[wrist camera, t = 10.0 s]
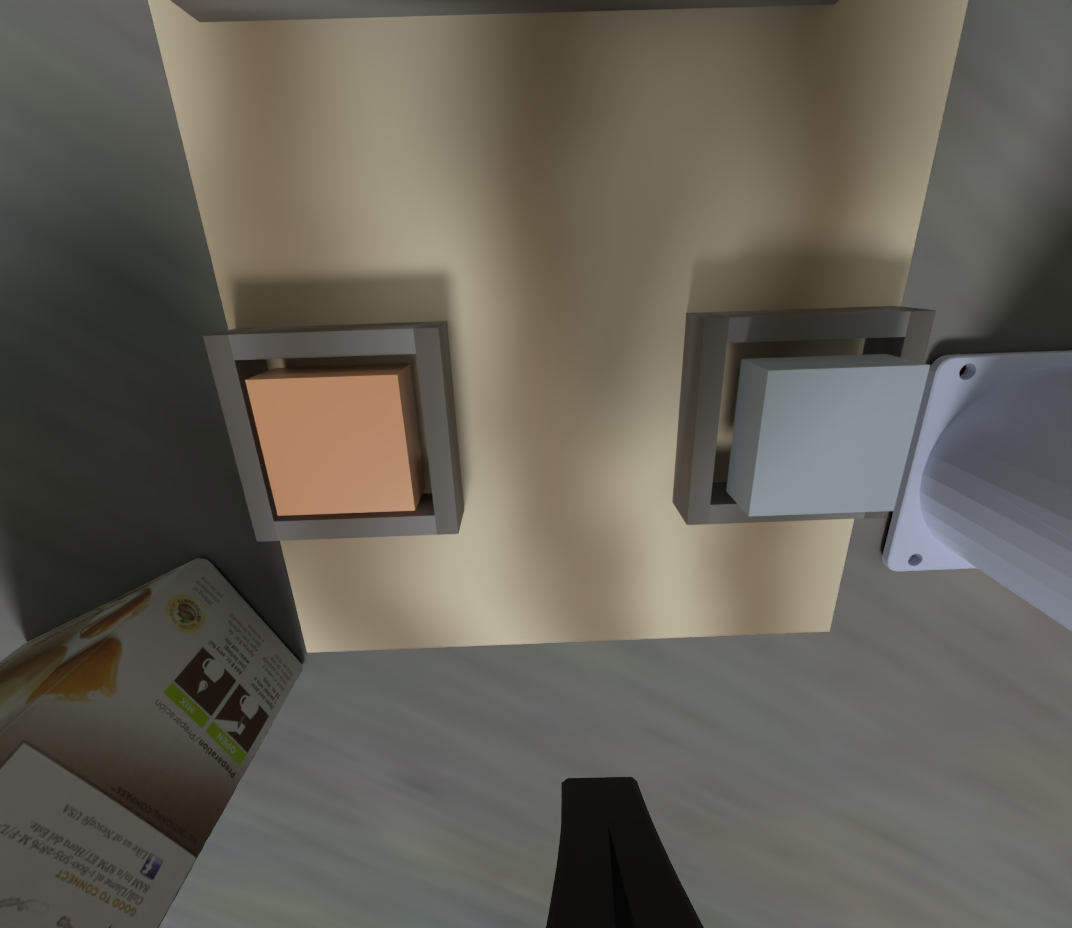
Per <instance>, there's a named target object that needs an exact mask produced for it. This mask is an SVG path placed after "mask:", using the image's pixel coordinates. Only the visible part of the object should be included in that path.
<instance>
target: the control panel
mask: <svg viewBox="0 0 1072 928" xmlns="http://www.w3.org/2000/svg"><path fill="white" fill-rule="evenodd" d="M148 2H149V6H150V10H151V14H152V18H153V23H154V27H155V31H156V35H157V39H158V43H159V47H160V51H161V55H162V59H163V64H164V68H165V72H166V76H167V80H168V84H169V88H170V92H171V96H172V100H173V105H174V109H175V113H176V117H177V121H178V125H179V129H180V133H181V137H182V141H183V146H184V150H185V154H186V158H187V162H188V166H189V170H190V174H191V178H192V182H193V187H194V191H195V195H196V199H197V203H198V207H199V211H200V215H201V219H202V224H203V228H204V232H205V236H206V240H207V244H208V248H209V252H210V256H211V260H212V265H213V269H214V273H215V277H216V281H217V285H218V289H219V293H220V297H221V301H222V306H223V310H224V314H225V318H226V322H227V326H228V330H226V331H222V332H217V333H213V334H208V335H204V336H203V339H204V343H205V346H206V350H207V354H208V358H209V362H210V365H211V369H212V373H213V377H214V381H215V384H216V388H217V392H218V396H219V400H220V403H221V407H222V411H223V415H224V419H225V422H226V426H227V430H228V434H229V438H230V441H231V445H232V449H233V453H234V457H235V461H236V464H237V468H238V472H239V476H240V480H241V483H242V487H243V491H244V495H245V499H246V502H247V506H248V510H249V514H250V518H251V521H252V525H253V529H254V533H255V537H256V540H257V542H261V541H280V543H281V548H282V552H283V556H284V560H285V564H286V568H287V572H288V576H289V580H290V584H291V589H292V593H293V597H294V601H295V605H296V609H297V613H298V617H299V621H300V625H301V630H302V634H303V638H304V642H305V646H306V650H307V653H312V652H336V651H361V650H385V649H410V648H434V647H459V646H484V645H508V644H533V643H557V642H582V641H606V640H631V639H655V638H680V637H704V636H729V635H753V634H778V633H803V632H827V631H830V627H831V622H832V618H833V613H834V609H835V604H836V599H837V595H838V590H839V586H840V581H841V577H842V572H843V568H844V563H845V559H846V554H847V549H848V545H849V540H850V536H851V531H852V527H853V522H854V519H859V518H885V516H886V512H887V511H879V512H853V513H827V514H801V515H775V516H748V515H747V514H746V513H745V512H744V511H743V510H742V509H741V507H740V506H739V505H738V504H737V503H736V502H735V501H734V500H733V498H732V497H731V496H730V495H729V494H728V493H727V492H726V488H727V479H728V471H729V462H730V453H731V445H732V436H733V427H734V419H735V410H736V401H737V393H738V384H739V375H740V366H741V359H753V358H781V357H810V356H838V355H867V354H888V355H892V356H896V357H900V358H904V359H908V360H912V361H916V362H920V363H923V360H924V356H925V352H926V348H927V344H928V340H929V336H930V332H931V328H932V324H933V319H934V315H935V310H926V309H917V308H908V307H901V304H902V300H903V295H904V290H905V286H906V281H907V277H908V272H909V268H910V263H911V259H912V254H913V250H914V245H915V240H916V236H917V231H918V227H919V222H920V218H921V213H922V209H923V204H924V200H925V195H926V190H927V186H928V181H929V177H930V172H931V168H932V163H933V159H934V154H935V150H936V145H937V141H938V136H939V131H940V127H941V122H942V118H943V113H944V109H945V104H946V100H947V95H948V91H949V86H950V81H951V77H952V72H953V68H954V63H955V59H956V54H957V50H958V45H959V41H960V36H961V31H962V27H963V22H964V18H965V13H966V9H967V4H968V0H148ZM403 363H410V364H411V373H412V381H413V389H414V398H415V406H416V414H417V423H418V431H419V439H420V448H421V456H422V464H423V473H424V481H425V489H424V491H423V494H422V496H421V498H420V501H419V503H418V505H417V507H416V510H415V511H390V512H364V513H338V514H311V515H285V516H278V515H277V510H276V506H275V502H274V498H273V494H272V490H271V485H270V481H269V477H268V473H267V469H266V465H265V461H264V456H263V452H262V448H261V444H260V440H259V436H258V431H257V427H256V423H255V419H254V415H253V411H252V406H251V402H250V398H249V394H248V390H247V386H246V382H245V380H246V379H249V378H251V377H254V376H256V375H258V374H261V373H263V372H266V371H268V370H270V369H273V368H288V367H317V366H345V365H374V364H403Z"/></svg>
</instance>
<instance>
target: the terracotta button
mask: <svg viewBox="0 0 1072 928" xmlns="http://www.w3.org/2000/svg"><path fill="white" fill-rule="evenodd" d="M245 382H246V386H247V390H248V394H249V398H250V402H251V406H252V411H253V415H254V419H255V423H256V427H257V431H258V436H259V440H260V444H261V448H262V452H263V456H264V461H265V465H266V469H267V473H268V477H269V481H270V485H271V490H272V494H273V498H274V502H275V506H276V510H277V515H278V516H285V515H311V514H338V513H364V512H390V511H415V510H416V507H417V505H418V503H419V501H420V498H421V496H422V494H423V491H424V489H425V481H424V473H423V464H422V456H421V448H420V439H419V431H418V423H417V414H416V406H415V398H414V389H413V381H412V373H411V364H410V363H403V364H374V365H345V366H317V367H288V368H273V369H270V370H268V371H266V372H263V373H261V374H258V375H256V376H254V377H251V378H249V379H246V380H245Z"/></svg>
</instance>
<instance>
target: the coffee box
mask: <svg viewBox="0 0 1072 928" xmlns="http://www.w3.org/2000/svg"><path fill="white" fill-rule="evenodd" d="M302 667H303V666H302V665H301V663H300V662H299V661H298V660H297V658H296V657H295V656H294V655H293V654H292V653H291V652H290V651H289V650H288V648H287V647H286V646H285V645H284V644H283V643H282V642H281V640H280V639H279V638H278V637H277V636H276V635H275V634H274V633H273V631H272V630H271V629H270V628H269V627H268V626H267V625H266V624H265V623H264V621H263V620H262V619H261V618H260V617H259V616H258V615H257V614H256V613H255V611H254V610H253V609H252V608H251V607H250V606H249V605H248V604H247V603H246V601H245V600H244V599H243V598H242V597H241V596H240V595H239V594H238V592H237V591H236V590H235V589H234V588H233V587H232V586H231V585H230V583H229V582H228V581H227V580H226V579H225V578H224V577H223V576H222V574H221V573H220V572H219V571H218V570H217V569H216V568H215V566H214V565H213V564H212V563H211V562H209V561H208V560H206V559H203V558H196V559H194V560H192V561H190V562H188V563H186V564H184V565H182V566H180V567H178V568H176V569H174V570H172V571H170V572H168V573H166V574H164V575H162V576H160V577H158V578H156V579H154V580H152V581H150V582H148V583H146V584H144V585H142V586H140V587H138V588H136V589H134V590H132V591H130V592H128V593H126V594H124V595H122V596H120V597H118V598H116V599H114V600H112V601H110V602H107V603H105V604H103V605H101V606H99V607H97V608H95V609H93V610H91V611H89V612H87V613H85V614H83V615H81V616H79V617H77V618H75V619H73V620H71V621H69V622H67V623H65V624H63V625H60V626H58V627H56V628H55V629H53V630H51V631H49V632H47V633H45V634H42V635H40V636H38V637H36V638H34V639H32V640H30V641H28V642H27V643H25V644H24V645H22V646H21V647H20V648H18V649H17V650H15V651H14V652H13V653H11V654H10V655H9V656H7V657H6V658H5V659H3V660H2V661H1V662H0V928H159V926H160V924H161V922H162V920H163V918H164V917H165V915H166V913H167V911H168V909H169V908H170V906H171V904H172V902H173V901H174V899H175V897H176V896H177V894H178V892H179V890H180V888H181V886H182V885H183V883H184V881H185V879H186V878H187V876H188V874H189V872H190V870H191V868H192V866H193V864H194V862H195V860H196V859H197V857H198V855H199V853H200V852H201V850H202V848H203V846H204V844H205V842H206V840H207V839H208V837H209V836H210V834H211V832H212V830H213V828H214V826H215V825H216V823H217V821H218V820H219V818H220V816H221V815H222V813H223V811H224V809H225V807H226V805H227V804H228V802H229V800H230V798H231V797H232V795H233V793H234V791H235V789H236V787H237V785H238V783H239V781H240V779H241V778H242V776H243V775H244V773H245V771H246V769H247V768H248V766H249V764H250V762H251V760H252V759H253V757H254V756H255V753H256V752H257V750H258V749H259V747H260V745H261V743H262V741H263V739H264V737H265V736H266V734H267V732H268V730H269V728H270V727H271V725H272V723H273V721H274V720H275V718H276V716H277V714H278V712H279V710H280V709H281V707H282V705H283V703H284V702H285V700H286V698H287V696H288V694H289V692H290V691H291V689H292V687H293V685H294V683H295V681H296V680H297V678H298V677H299V675H300V673H301V672H302Z"/></svg>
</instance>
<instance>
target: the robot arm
mask: <svg viewBox="0 0 1072 928" xmlns="http://www.w3.org/2000/svg"><path fill="white" fill-rule="evenodd" d="M964 365H966V370H965V372H964V373H963V374H962V375H961V376H959V372H960V370H961V368H962V367H963V366H964ZM914 554H915V555H914ZM912 555H914V556H913V557H912V558H911V559H910V560H909V558H910V557H911V556H912ZM882 561H883V563H884V564H885V565H886V566H887V567H889V568H890V569H891V570H893V571H916V570H941V569H966V568H978V569H979V570H981V571H982V572H984V573H985V574H987V575H988V576H990V577H991V578H993V579H994V580H996V581H997V582H999V583H1000V584H1002V585H1003V586H1005V587H1006V588H1008V589H1009V590H1011V591H1012V592H1014V593H1015V594H1017V595H1018V596H1020V597H1021V598H1023V599H1024V600H1026V601H1027V602H1029V603H1030V604H1032V605H1033V606H1035V607H1036V608H1038V609H1039V610H1040V611H1042V612H1043V613H1045V614H1046V615H1048V616H1049V617H1051V618H1052V619H1054V620H1055V621H1057V622H1058V623H1060V624H1061V625H1063V626H1064V627H1066V628H1067V629H1069V630H1070V631H1072V350H1068V351H1040V352H1011V353H983V354H955V355H945V356H941V357H939V358H938V359H936V360H935V361H934V362H933V363H932V365H931V367H930V369H929V372H928V376H927V380H926V384H925V388H924V392H923V396H922V400H921V404H920V408H919V412H918V416H917V420H916V424H915V428H914V432H913V436H912V440H911V444H910V448H909V452H908V456H907V460H906V464H905V468H904V472H903V476H902V480H901V484H900V488H899V492H898V496H897V500H896V504H895V508H894V512H893V516H892V520H891V524H890V528H889V532H888V536H887V540H886V544H885V548H884V552H883V556H882ZM546 928H704V927H703V926H702V924H701V922H700V920H699V918H698V916H697V914H696V912H695V910H694V908H693V906H692V904H691V902H690V900H689V898H688V896H687V894H686V892H685V890H684V888H683V886H682V885H681V883H680V881H679V879H678V876H677V874H676V872H675V870H674V868H673V866H672V864H671V862H670V860H669V858H668V855H667V853H666V851H665V849H664V847H663V845H662V842H661V840H660V838H659V836H658V833H657V831H656V829H655V827H654V824H653V822H652V820H651V817H650V815H649V812H648V810H647V807H646V805H645V802H644V800H643V797H642V794H641V792H640V789H639V786H638V783H637V781H636V780H635V779H634V778H632V777H607V778H568V779H566V780H565V781H564V782H562V806H561V834H560V844H559V852H558V860H557V868H556V874H555V879H554V885H553V891H552V897H551V903H550V909H549V915H548V920H547V926H546Z"/></svg>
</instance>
